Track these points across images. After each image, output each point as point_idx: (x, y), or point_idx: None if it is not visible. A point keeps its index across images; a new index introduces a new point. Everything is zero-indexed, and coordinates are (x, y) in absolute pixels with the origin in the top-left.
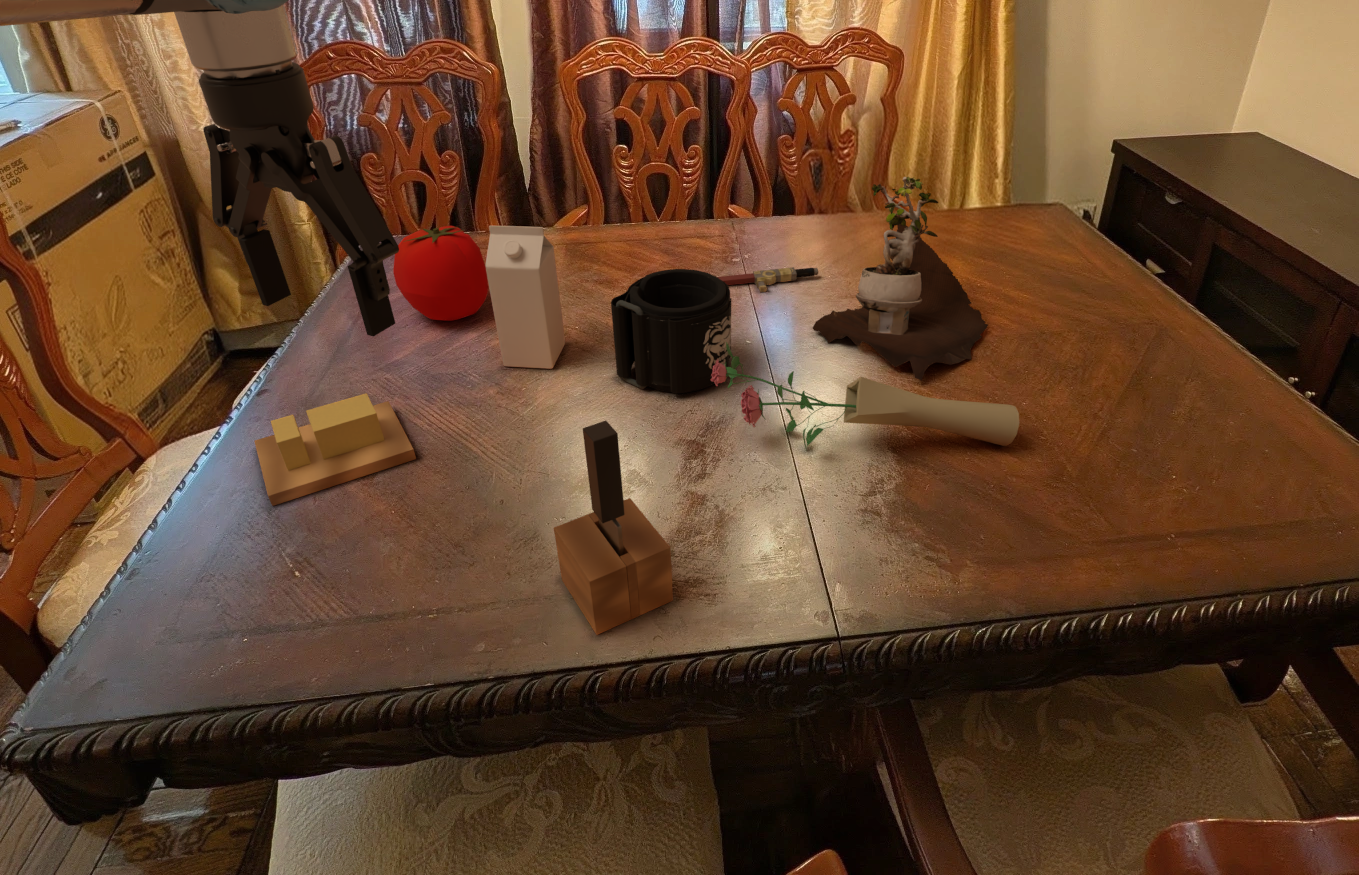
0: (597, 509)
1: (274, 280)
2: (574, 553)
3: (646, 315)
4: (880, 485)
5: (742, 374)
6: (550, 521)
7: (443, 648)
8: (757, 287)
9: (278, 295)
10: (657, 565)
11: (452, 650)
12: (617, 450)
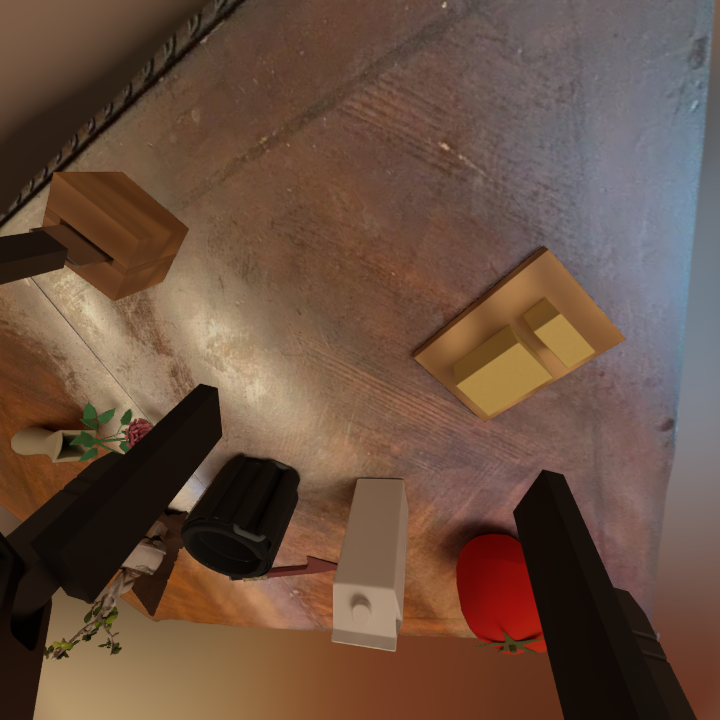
0: (39, 239)
1: (539, 544)
2: (94, 208)
3: (229, 523)
4: (72, 383)
5: None
6: (244, 297)
7: (224, 98)
8: None
9: (529, 503)
10: None
11: (215, 99)
12: None
